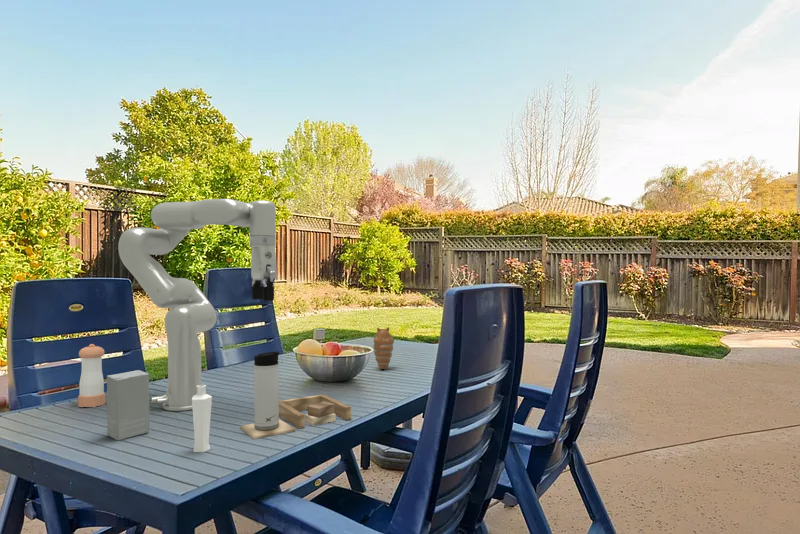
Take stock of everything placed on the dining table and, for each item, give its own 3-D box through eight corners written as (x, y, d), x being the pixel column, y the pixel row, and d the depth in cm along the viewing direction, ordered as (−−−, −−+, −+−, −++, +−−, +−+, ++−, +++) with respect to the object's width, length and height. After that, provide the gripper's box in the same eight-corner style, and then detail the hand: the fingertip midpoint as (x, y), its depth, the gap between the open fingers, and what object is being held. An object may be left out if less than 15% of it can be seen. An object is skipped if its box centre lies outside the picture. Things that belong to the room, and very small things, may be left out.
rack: (299, 428, 138) (298, 415, 138) (274, 413, 153) (274, 401, 153) (350, 419, 146) (350, 406, 146) (323, 405, 161) (323, 394, 161)
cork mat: (253, 439, 129) (253, 436, 129) (240, 428, 139) (240, 425, 139) (295, 431, 135) (295, 429, 135) (279, 421, 145) (279, 419, 145)
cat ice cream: (375, 372, 214) (375, 328, 214) (370, 368, 222) (370, 326, 222) (396, 370, 217) (396, 327, 217) (390, 367, 225) (390, 326, 225)
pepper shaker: (79, 404, 165) (79, 343, 165) (105, 401, 168) (105, 342, 168) (77, 409, 158) (77, 346, 158) (104, 406, 161) (104, 344, 162)
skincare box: (138, 428, 139) (138, 369, 139) (151, 433, 134) (151, 372, 134) (104, 436, 132) (104, 374, 132) (116, 442, 128) (116, 377, 128)
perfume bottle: (214, 446, 124) (214, 383, 124) (208, 452, 120) (208, 387, 120) (195, 446, 124) (195, 383, 124) (188, 452, 120) (188, 387, 120)
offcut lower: (312, 427, 140) (312, 418, 140) (305, 423, 145) (305, 414, 145) (335, 423, 144) (335, 414, 144) (328, 419, 148) (328, 410, 148)
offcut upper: (318, 417, 141) (318, 408, 141) (307, 415, 144) (307, 406, 144) (334, 412, 146) (334, 403, 146) (323, 410, 148) (323, 401, 148)
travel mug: (273, 431, 133) (273, 353, 133) (250, 430, 135) (249, 353, 135) (283, 424, 139) (283, 350, 140) (261, 423, 141) (260, 349, 141)
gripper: (285, 241, 150) (285, 300, 150) (265, 244, 164) (265, 298, 164) (259, 240, 146) (260, 301, 146) (241, 243, 160) (241, 299, 160)
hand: (262, 299), depth 155 cm, fingers open, 9 cm apart
